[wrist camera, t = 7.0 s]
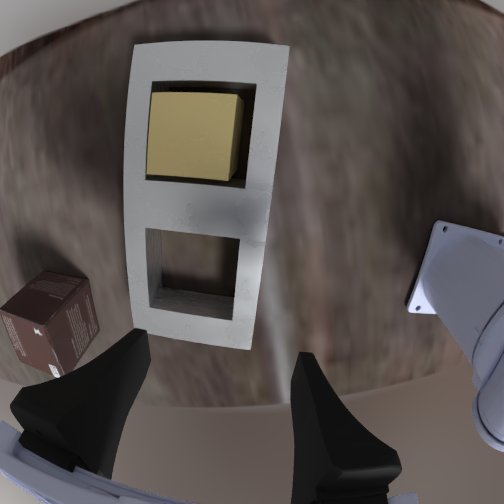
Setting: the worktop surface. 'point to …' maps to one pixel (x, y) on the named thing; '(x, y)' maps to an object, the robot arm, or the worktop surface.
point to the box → (51, 322)
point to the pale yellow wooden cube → (194, 134)
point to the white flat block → (200, 189)
